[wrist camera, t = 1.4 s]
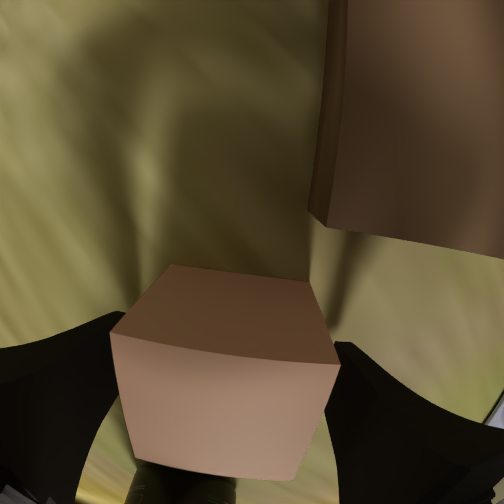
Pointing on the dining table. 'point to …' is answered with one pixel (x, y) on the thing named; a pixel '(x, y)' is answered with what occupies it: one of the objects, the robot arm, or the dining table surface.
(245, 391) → the terracotta cube
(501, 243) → the walnut base
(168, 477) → the supplement bottle
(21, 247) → the dining table surface
